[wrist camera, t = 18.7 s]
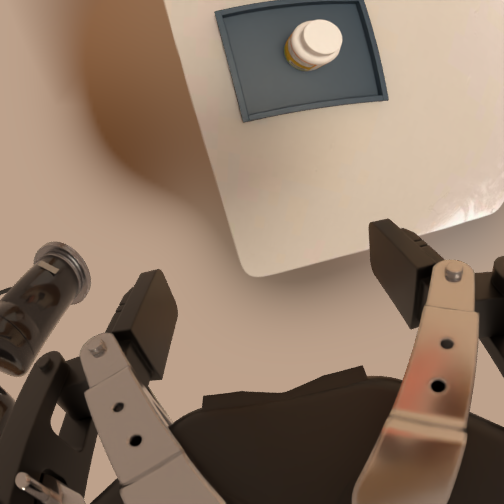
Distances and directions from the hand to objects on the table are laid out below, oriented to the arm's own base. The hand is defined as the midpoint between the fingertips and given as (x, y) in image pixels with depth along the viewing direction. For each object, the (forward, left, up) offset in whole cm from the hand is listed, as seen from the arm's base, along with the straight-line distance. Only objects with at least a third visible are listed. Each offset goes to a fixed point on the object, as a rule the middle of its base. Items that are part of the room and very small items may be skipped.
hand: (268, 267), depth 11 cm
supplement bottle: (+10, +12, -30) cm, 34 cm away
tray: (+10, +12, -30) cm, 34 cm away
